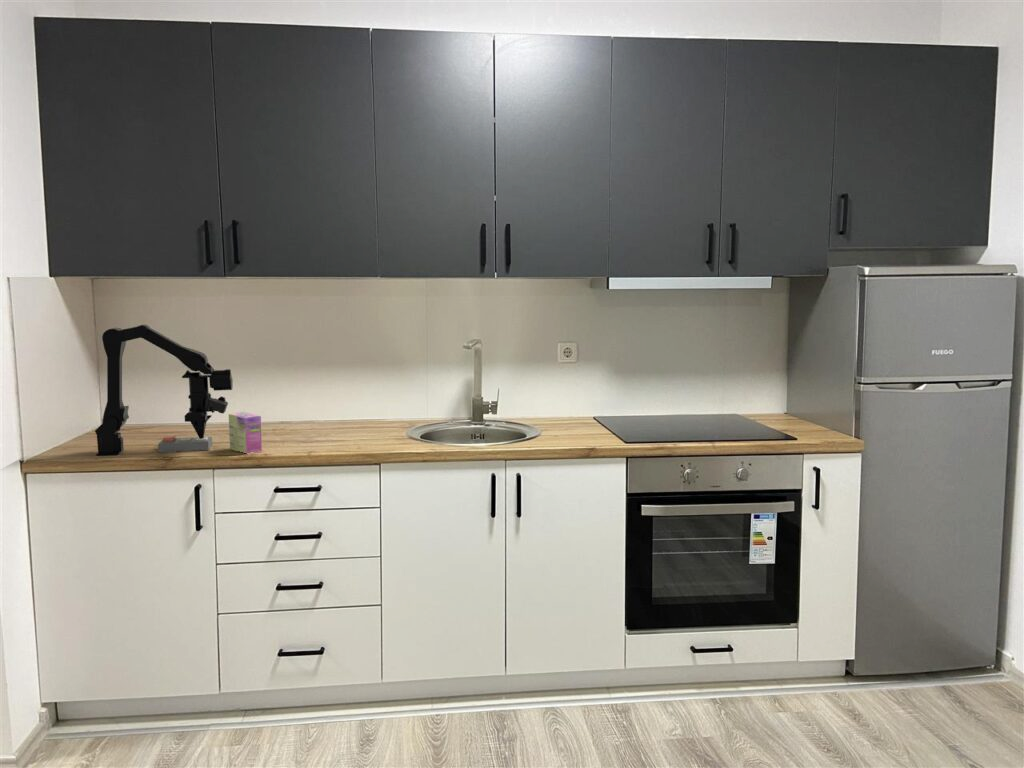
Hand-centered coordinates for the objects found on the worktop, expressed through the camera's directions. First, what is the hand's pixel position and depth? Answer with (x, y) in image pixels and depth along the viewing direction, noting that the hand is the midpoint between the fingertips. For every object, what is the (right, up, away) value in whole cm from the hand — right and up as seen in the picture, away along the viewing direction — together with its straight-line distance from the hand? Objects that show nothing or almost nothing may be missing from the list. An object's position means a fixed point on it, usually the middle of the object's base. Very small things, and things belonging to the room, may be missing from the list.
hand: (201, 438), depth 256 cm
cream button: (0, -2, 0) cm, 2 cm away
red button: (-10, -1, -2) cm, 10 cm away
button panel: (-5, -3, -1) cm, 6 cm away
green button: (-5, -2, -1) cm, 5 cm away
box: (+16, -4, -3) cm, 16 cm away
